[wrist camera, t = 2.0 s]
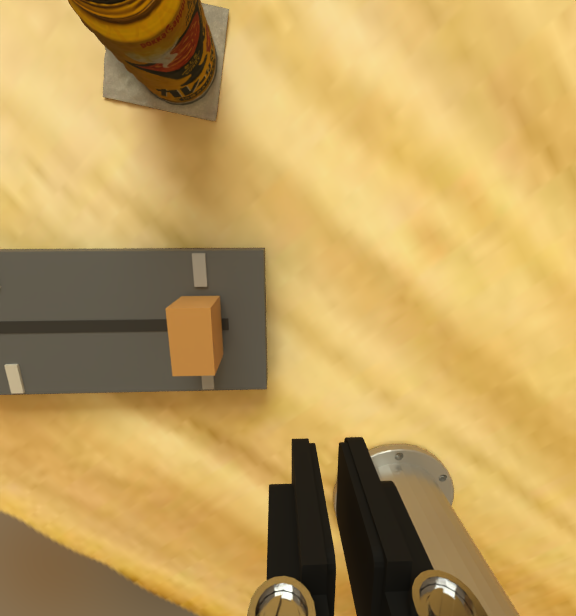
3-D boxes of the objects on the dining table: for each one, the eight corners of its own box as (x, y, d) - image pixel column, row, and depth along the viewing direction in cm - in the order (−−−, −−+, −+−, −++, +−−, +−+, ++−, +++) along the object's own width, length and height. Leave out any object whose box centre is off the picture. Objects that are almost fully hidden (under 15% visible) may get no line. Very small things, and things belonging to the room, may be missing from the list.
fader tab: (220, 295, 25) (210, 308, 22) (223, 354, 26) (214, 375, 23) (181, 296, 25) (165, 308, 21) (186, 355, 26) (172, 376, 23)
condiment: (216, 122, 25) (164, 32, 13) (104, 97, 24) (-56, -20, 12) (229, 11, 23) (182, -207, 11) (108, -19, 22) (-75, -283, 11)
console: (264, 247, 27) (263, 250, 25) (267, 375, 30) (266, 390, 28) (-51, 249, 26) (-87, 252, 24) (-15, 381, 29) (-44, 396, 27)
